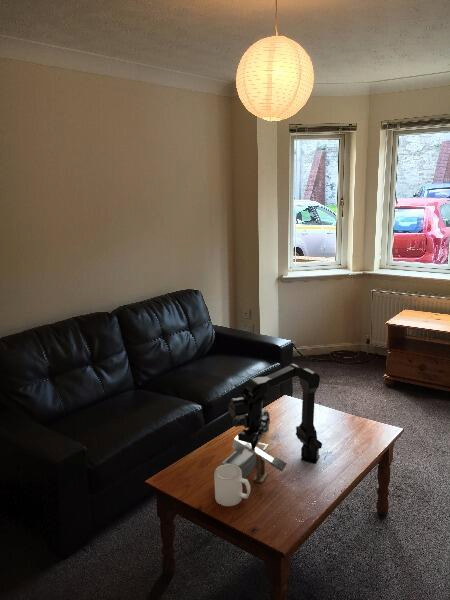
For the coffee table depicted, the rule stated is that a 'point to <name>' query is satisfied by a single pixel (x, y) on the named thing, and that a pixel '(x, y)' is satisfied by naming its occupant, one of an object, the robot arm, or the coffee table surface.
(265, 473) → the lever stand
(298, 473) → the coffee table surface
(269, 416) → the watch
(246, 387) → the robot arm
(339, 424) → the coffee table surface
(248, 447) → the lever
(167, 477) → the coffee table surface
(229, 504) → the mug
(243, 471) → the chute
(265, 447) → the cream square tray
